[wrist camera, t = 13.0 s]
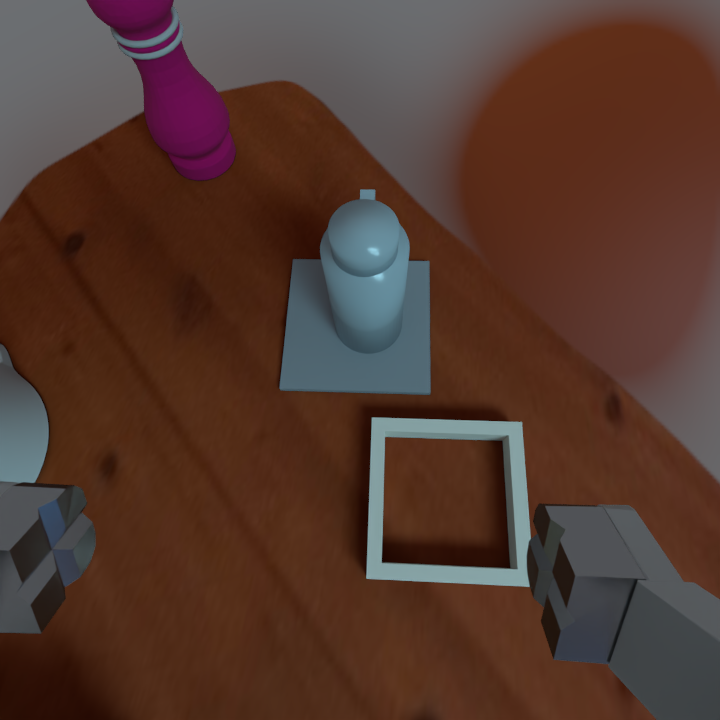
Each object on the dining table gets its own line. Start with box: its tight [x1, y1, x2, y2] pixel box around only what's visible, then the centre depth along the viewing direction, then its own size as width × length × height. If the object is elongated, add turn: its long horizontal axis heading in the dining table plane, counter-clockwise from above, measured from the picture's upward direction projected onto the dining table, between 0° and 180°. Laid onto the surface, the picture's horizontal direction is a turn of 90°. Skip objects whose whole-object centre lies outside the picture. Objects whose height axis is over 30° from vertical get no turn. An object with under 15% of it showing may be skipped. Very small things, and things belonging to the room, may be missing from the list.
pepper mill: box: [87, 0, 236, 181], centre depth 39 cm, size 7×7×20 cm
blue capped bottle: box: [320, 190, 409, 354], centre depth 35 cm, size 6×8×13 cm
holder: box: [366, 417, 531, 587], centre depth 35 cm, size 11×11×2 cm
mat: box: [280, 259, 430, 395], centre depth 41 cm, size 12×12×1 cm
